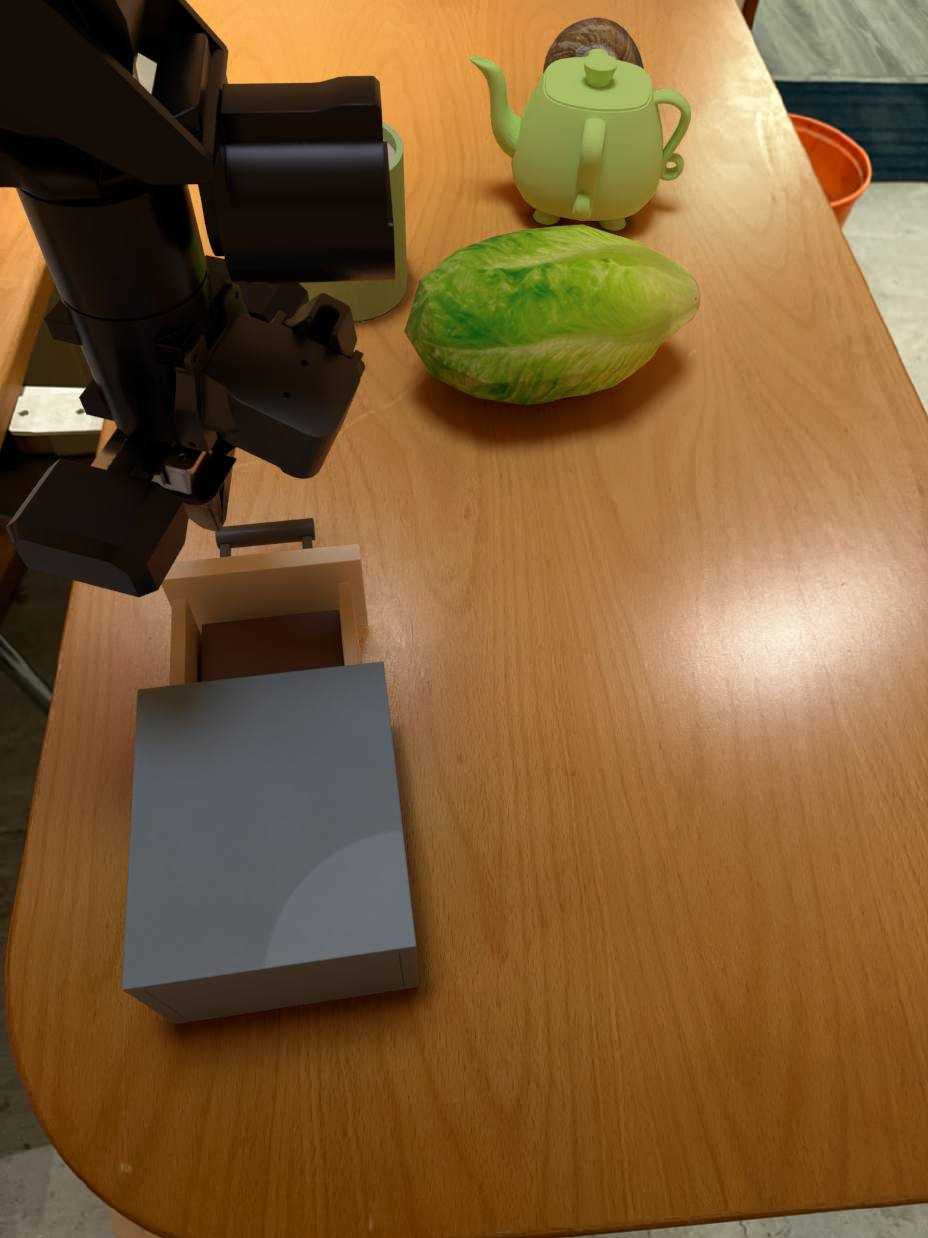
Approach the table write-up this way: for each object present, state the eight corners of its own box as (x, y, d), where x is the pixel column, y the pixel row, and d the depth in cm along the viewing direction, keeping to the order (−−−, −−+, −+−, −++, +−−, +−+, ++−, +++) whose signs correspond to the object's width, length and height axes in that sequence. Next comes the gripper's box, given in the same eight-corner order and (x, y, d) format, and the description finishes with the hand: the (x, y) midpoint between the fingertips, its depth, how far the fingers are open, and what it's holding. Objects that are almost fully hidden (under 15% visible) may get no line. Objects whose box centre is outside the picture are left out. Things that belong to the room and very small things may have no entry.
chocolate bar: (349, 696, 54) (344, 667, 51) (213, 711, 53) (200, 683, 50) (344, 639, 56) (339, 608, 53) (213, 654, 55) (201, 623, 52)
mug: (405, 244, 81) (401, 108, 71) (408, 320, 75) (404, 185, 65) (265, 246, 80) (240, 109, 70) (257, 323, 75) (230, 187, 65)
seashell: (550, 135, 92) (559, 50, 85) (530, 87, 97) (538, 4, 90) (656, 127, 93) (673, 44, 86) (631, 81, 98) (646, -1, 91)
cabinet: (179, 761, 53) (137, 688, 46) (390, 735, 55) (383, 660, 47) (173, 1024, 46) (121, 990, 38) (419, 987, 47) (416, 946, 39)
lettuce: (708, 414, 70) (753, 288, 61) (424, 458, 67) (422, 332, 57) (652, 309, 77) (684, 179, 67) (391, 344, 74) (385, 213, 64)
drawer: (189, 576, 60) (161, 505, 53) (361, 558, 61) (353, 487, 55) (184, 833, 50) (150, 783, 44) (388, 807, 51) (382, 754, 45)
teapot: (549, 271, 80) (567, 129, 69) (462, 190, 86) (466, 48, 75) (687, 215, 85) (723, 75, 74) (596, 142, 91) (617, 4, 80)
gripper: (226, 495, 29) (290, 713, 42) (403, 180, 39) (410, 436, 52) (-79, 420, 30) (74, 654, 43) (166, 134, 40) (231, 395, 53)
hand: (214, 525), depth 48 cm, fingers closed
